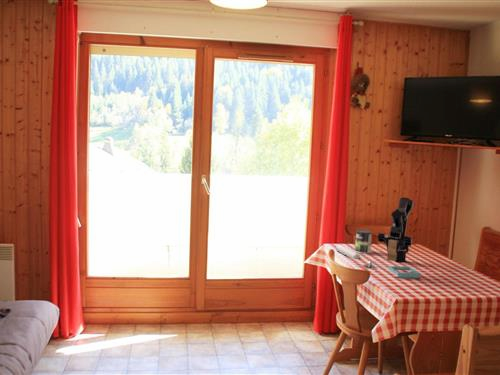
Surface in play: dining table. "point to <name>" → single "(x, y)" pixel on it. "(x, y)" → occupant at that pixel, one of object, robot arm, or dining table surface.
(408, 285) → the dining table surface
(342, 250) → the tube
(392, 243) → the strut
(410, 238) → the robot arm
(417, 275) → the teal flat square frame
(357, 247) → the coffee can
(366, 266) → the stud mount
